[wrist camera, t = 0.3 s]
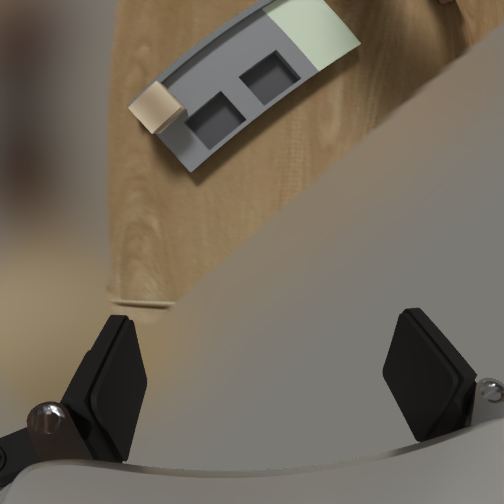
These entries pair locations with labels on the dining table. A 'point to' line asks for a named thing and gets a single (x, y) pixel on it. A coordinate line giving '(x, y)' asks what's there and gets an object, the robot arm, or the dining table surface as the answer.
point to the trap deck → (247, 71)
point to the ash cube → (157, 108)
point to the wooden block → (444, 1)
